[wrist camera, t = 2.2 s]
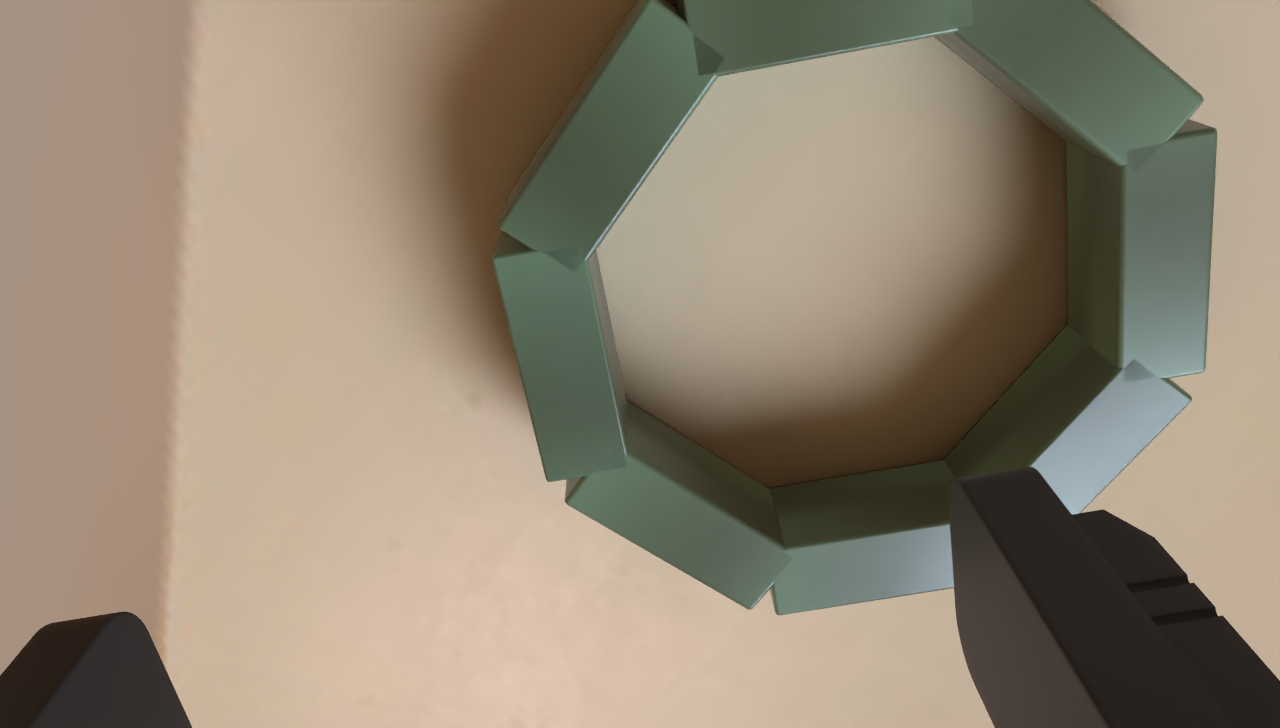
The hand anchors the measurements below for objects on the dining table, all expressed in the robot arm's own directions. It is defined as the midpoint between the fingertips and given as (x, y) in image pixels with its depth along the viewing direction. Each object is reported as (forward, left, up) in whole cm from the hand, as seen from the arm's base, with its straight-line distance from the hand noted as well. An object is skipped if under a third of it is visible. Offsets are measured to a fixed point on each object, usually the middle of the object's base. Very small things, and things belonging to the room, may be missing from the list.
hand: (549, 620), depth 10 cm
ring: (+4, 0, -8) cm, 9 cm away
